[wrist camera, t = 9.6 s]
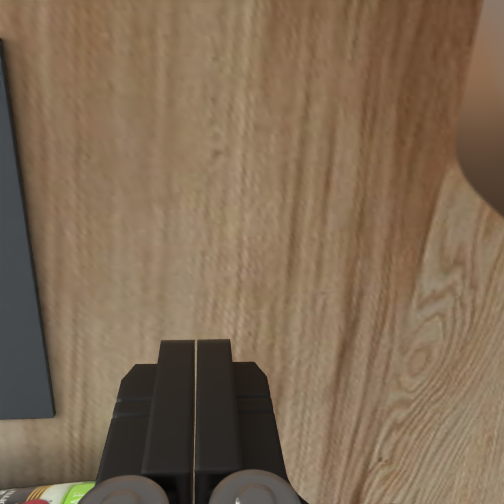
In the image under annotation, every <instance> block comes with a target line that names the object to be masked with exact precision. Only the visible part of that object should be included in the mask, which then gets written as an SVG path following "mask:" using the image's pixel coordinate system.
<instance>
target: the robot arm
mask: <svg viewBox="0 0 504 504" xmlns="http://www.w3.org/2000/svg"><path fill="white" fill-rule="evenodd" d="M194 425H195V340H162V341H161V344H160V351H159V358H158V364H135V366H134V367H133V368H132V369H131V370H130V371H129V372H128V374H127V375H126V376H125V377H124V378H123V379H122V380H121V384H120V388H119V392H118V396H117V403H116V404H115V408H114V412H113V419H112V420H111V424H110V427H109V431H108V435H107V439H106V443H105V447H104V451H103V455H102V459H101V463H100V467H99V471H98V474H97V478H96V482H95V485H94V487H93V488H92V489H90V490H89V491H88V492H87V493H86V494H85V495H84V496H83V497H82V498H81V499H80V500H79V502H78V503H77V504H193V467H194ZM195 504H309V503H307V502H306V501H305V500H304V499H302V498H301V497H300V496H299V495H298V494H297V493H296V491H295V490H294V489H293V487H292V486H291V484H290V482H289V480H288V477H287V474H286V470H285V465H284V460H283V455H282V450H281V445H280V440H279V435H278V430H277V425H276V420H275V415H274V413H273V405H272V400H271V398H270V390H269V385H268V380H267V376H266V375H265V374H264V373H263V372H262V370H261V369H260V368H259V367H258V366H257V364H256V363H255V362H232V353H231V343H230V339H212V340H197V386H196V435H195Z"/></svg>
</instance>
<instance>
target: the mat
mask: <svg viewBox="0 0 504 504" xmlns="http://www.w3.org/2000/svg"><path fill="white" fill-rule="evenodd" d="M55 414H56V411H55V405H54V398H53V391H52V384H51V377H50V370H49V363H48V356H47V350H46V343H45V336H44V329H43V322H42V315H41V308H40V301H39V295H38V288H37V281H36V274H35V267H34V260H33V253H32V246H31V240H30V233H29V226H28V219H27V212H26V205H25V198H24V191H23V185H22V178H21V171H20V164H19V157H18V150H17V143H16V136H15V130H14V123H13V116H12V109H11V102H10V95H9V88H8V81H7V75H6V68H5V61H4V54H3V47H2V40H1V39H0V420H5V419H36V418H54V416H55Z"/></svg>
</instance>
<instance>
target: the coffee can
mask: <svg viewBox="0 0 504 504" xmlns="http://www.w3.org/2000/svg"><path fill="white" fill-rule="evenodd" d="M95 482H96V480H95V481H84V482H75V483H65V484H55V485H45V486H35V487H24V488H14V489H5V490H0V504H77V503H78V502H79V500H80V499H81V498H82V497H83V496H84V495H85V494H86V493H87V492H88V491H89V490H90V489H92V488H93V487H94V485H95Z"/></svg>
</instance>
